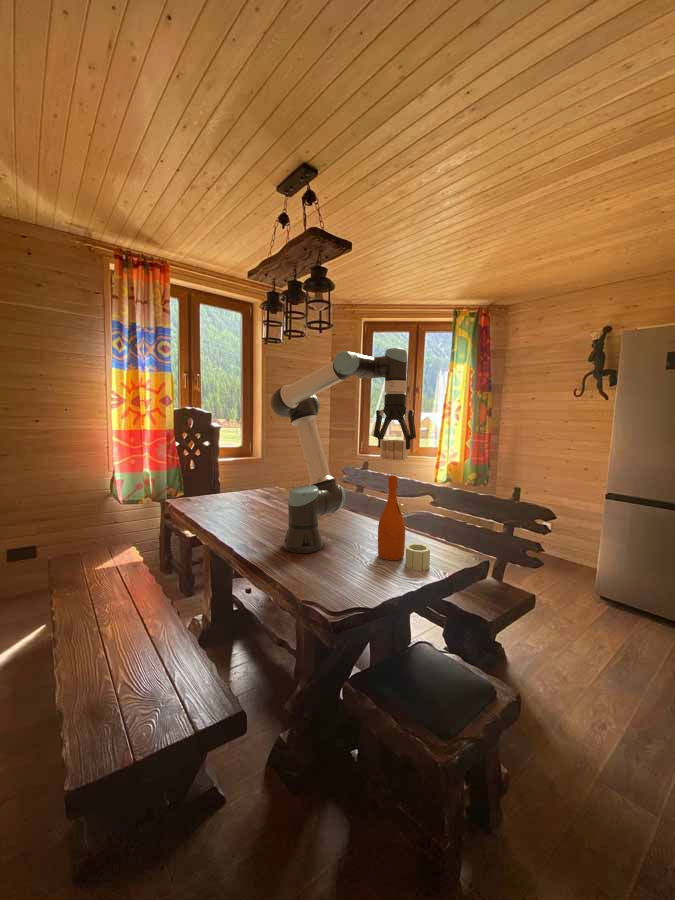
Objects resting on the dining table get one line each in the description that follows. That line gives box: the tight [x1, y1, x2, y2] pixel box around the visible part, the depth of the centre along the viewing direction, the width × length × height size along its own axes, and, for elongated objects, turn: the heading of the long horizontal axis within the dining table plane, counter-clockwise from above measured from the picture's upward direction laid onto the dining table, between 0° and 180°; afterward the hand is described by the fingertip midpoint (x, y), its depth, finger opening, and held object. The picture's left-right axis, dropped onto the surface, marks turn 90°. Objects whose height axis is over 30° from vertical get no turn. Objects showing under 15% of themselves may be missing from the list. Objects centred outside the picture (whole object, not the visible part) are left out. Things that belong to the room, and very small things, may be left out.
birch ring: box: [381, 439, 405, 461], centre depth 133 cm, size 8×8×6 cm
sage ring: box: [404, 542, 431, 572], centre depth 128 cm, size 8×8×6 cm
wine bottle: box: [377, 474, 406, 562], centre depth 135 cm, size 10×10×30 cm
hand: (393, 457), depth 133 cm, fingers closed on birch ring, 8 cm apart
